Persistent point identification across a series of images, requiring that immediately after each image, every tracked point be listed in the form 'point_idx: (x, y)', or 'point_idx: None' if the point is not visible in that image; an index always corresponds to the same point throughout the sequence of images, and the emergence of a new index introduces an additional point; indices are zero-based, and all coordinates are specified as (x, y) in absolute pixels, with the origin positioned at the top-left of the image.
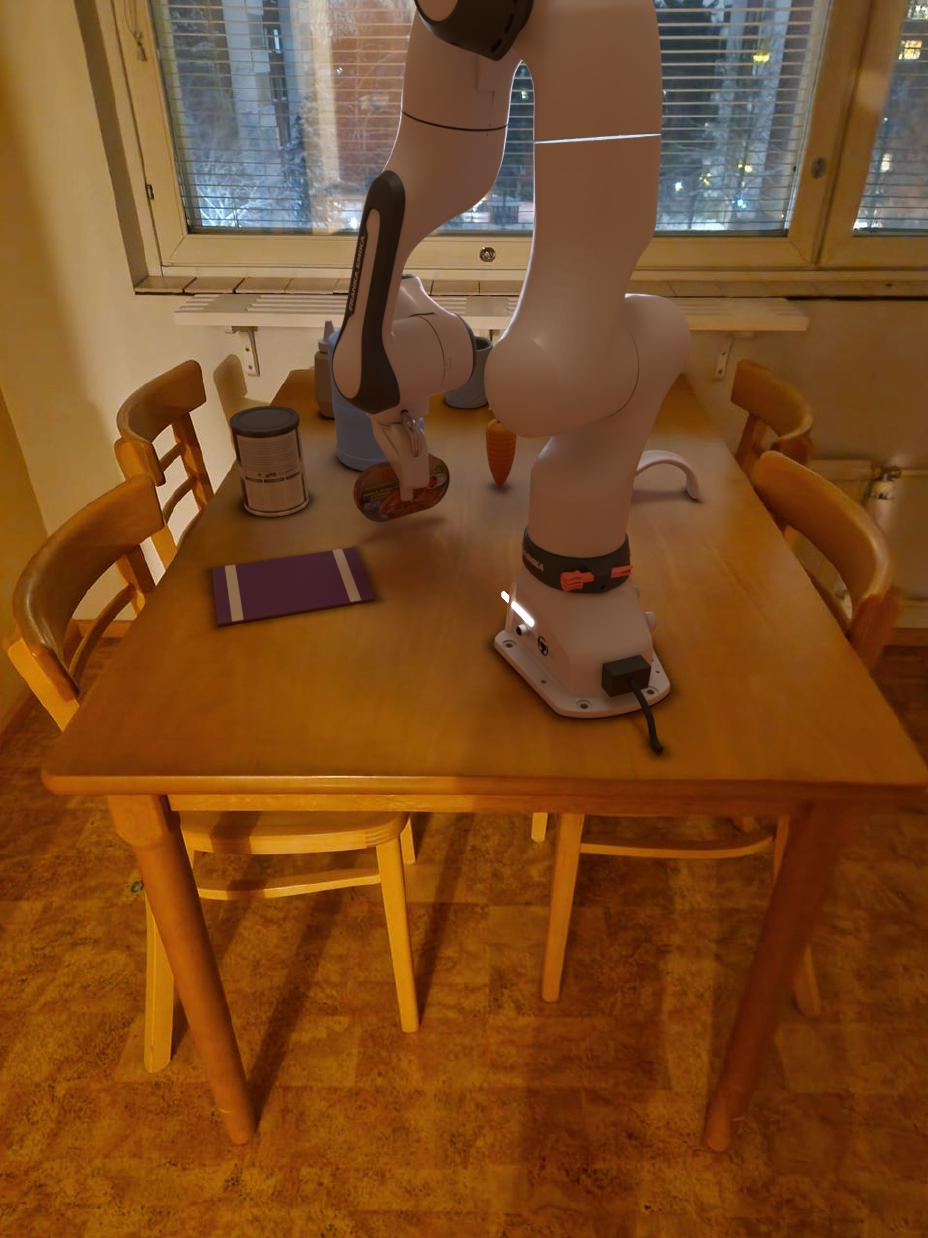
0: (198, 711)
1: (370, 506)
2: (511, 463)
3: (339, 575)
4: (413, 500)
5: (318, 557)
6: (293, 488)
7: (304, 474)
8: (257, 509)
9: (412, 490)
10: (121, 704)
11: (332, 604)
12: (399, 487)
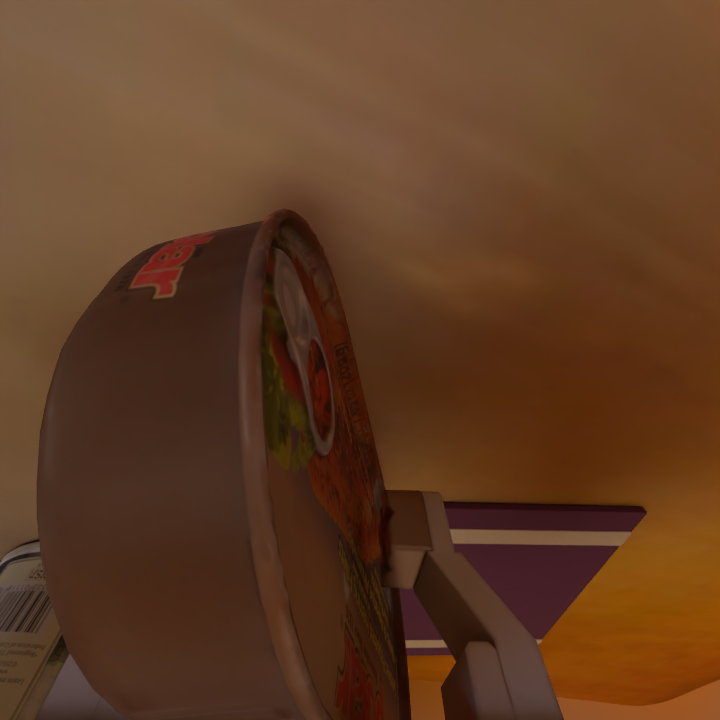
0: (676, 659)
1: None
2: None
3: (510, 545)
4: (346, 425)
5: None
6: None
7: (38, 644)
8: None
9: (450, 537)
10: (602, 689)
11: (601, 565)
12: (423, 599)
